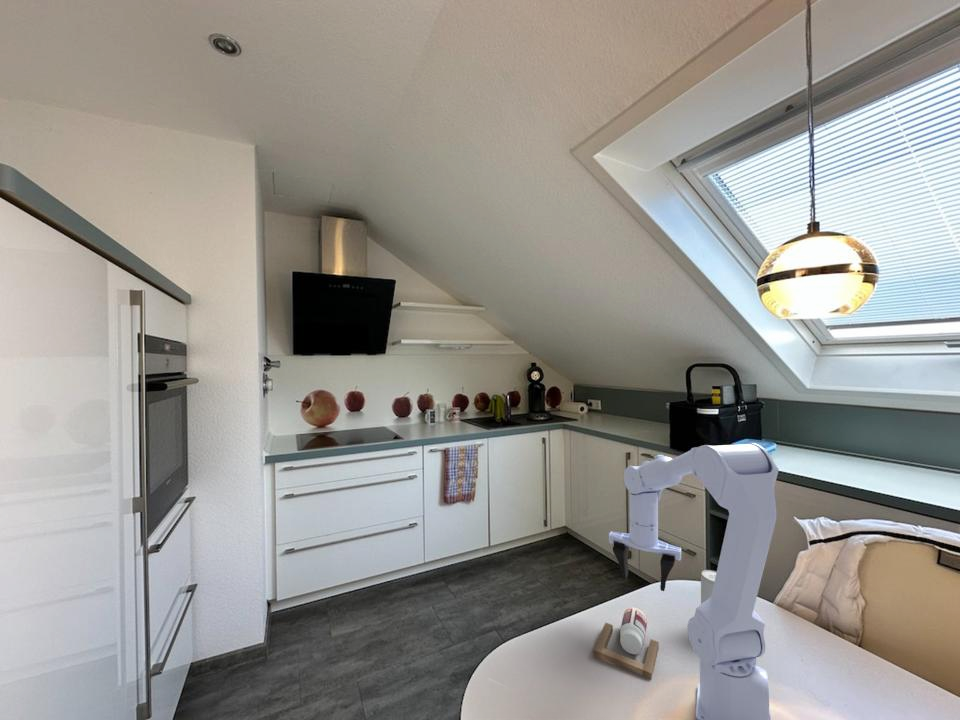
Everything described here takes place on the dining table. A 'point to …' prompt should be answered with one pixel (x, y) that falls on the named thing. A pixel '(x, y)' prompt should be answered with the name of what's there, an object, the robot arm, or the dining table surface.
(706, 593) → the beverage can
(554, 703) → the dining table surface
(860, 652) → the dining table surface
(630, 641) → the pill bottle
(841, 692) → the dining table surface
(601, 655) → the socket block
